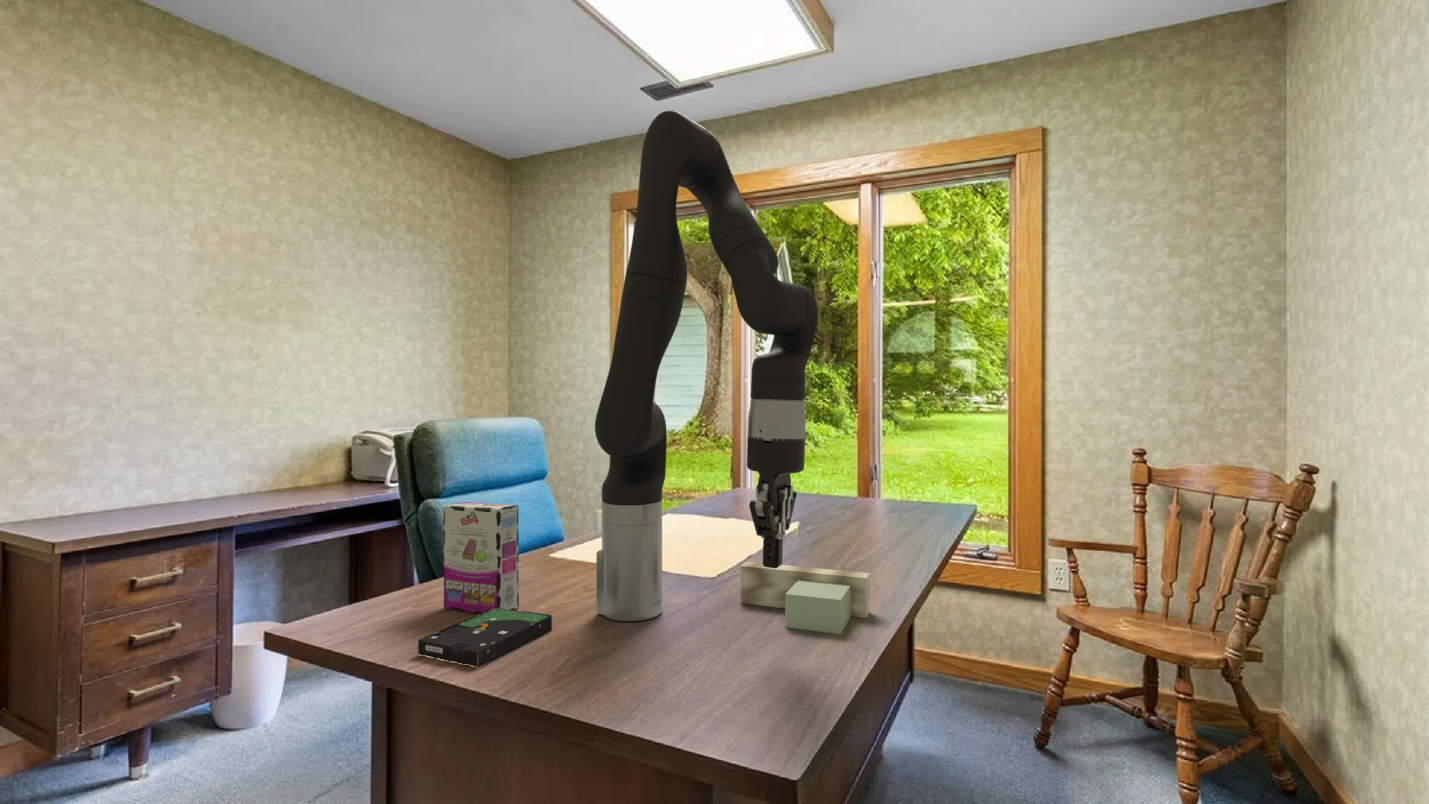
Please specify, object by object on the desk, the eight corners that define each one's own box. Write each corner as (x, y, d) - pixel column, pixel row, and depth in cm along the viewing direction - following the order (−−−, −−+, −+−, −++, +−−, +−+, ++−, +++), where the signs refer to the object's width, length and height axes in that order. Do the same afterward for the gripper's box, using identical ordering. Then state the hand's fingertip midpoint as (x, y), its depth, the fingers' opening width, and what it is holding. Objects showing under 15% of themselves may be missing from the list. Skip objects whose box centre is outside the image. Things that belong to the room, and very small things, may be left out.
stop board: (740, 603, 107) (740, 565, 107) (746, 597, 110) (746, 561, 110) (866, 618, 99) (866, 578, 99) (869, 612, 102) (869, 573, 102)
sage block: (785, 628, 96) (785, 593, 96) (798, 611, 103) (799, 579, 103) (840, 635, 93) (840, 600, 93) (850, 618, 100) (850, 585, 100)
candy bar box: (520, 608, 104) (520, 504, 104) (499, 618, 100) (499, 509, 100) (465, 600, 109) (464, 500, 109) (441, 609, 104) (441, 504, 104)
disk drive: (480, 674, 81) (553, 632, 95) (479, 651, 81) (553, 613, 95) (416, 661, 85) (495, 623, 99) (416, 639, 85) (495, 604, 99)
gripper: (765, 431, 94) (761, 552, 95) (730, 435, 82) (726, 574, 82) (817, 433, 91) (813, 559, 92) (789, 438, 79) (784, 583, 79)
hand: (772, 566), depth 87 cm, fingers closed
